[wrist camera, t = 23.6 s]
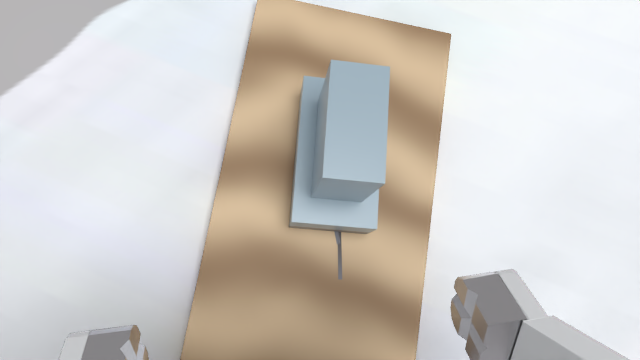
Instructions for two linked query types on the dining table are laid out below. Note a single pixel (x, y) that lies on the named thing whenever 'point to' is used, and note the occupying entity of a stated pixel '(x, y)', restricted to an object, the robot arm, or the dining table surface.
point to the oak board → (317, 245)
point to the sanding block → (341, 148)
